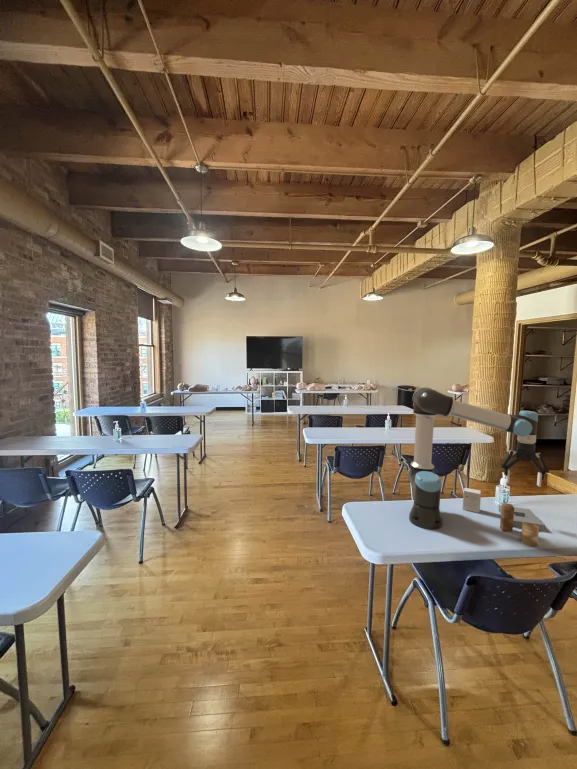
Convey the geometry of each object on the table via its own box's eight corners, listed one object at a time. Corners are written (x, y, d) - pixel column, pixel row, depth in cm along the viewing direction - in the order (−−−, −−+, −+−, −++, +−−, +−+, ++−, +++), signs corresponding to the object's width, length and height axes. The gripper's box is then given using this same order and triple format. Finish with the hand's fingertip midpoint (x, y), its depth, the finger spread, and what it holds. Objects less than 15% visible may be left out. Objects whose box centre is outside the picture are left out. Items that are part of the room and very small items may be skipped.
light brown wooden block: (523, 545, 146) (525, 527, 145) (518, 538, 152) (520, 521, 151) (539, 548, 144) (541, 529, 144) (534, 541, 150) (535, 523, 149)
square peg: (502, 531, 158) (504, 506, 157) (499, 527, 162) (501, 502, 161) (512, 532, 157) (514, 507, 156) (509, 528, 161) (511, 504, 160)
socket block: (509, 526, 163) (510, 520, 163) (498, 510, 180) (498, 505, 180) (543, 531, 159) (544, 525, 159) (528, 514, 176) (529, 509, 176)
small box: (479, 509, 181) (481, 490, 180) (479, 513, 176) (480, 493, 175) (463, 505, 185) (464, 487, 184) (462, 509, 180) (463, 490, 179)
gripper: (500, 441, 167) (496, 483, 168) (559, 446, 159) (555, 490, 161) (495, 438, 174) (492, 478, 175) (552, 443, 167) (548, 484, 168)
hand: (522, 484), depth 168 cm, fingers open, 13 cm apart
